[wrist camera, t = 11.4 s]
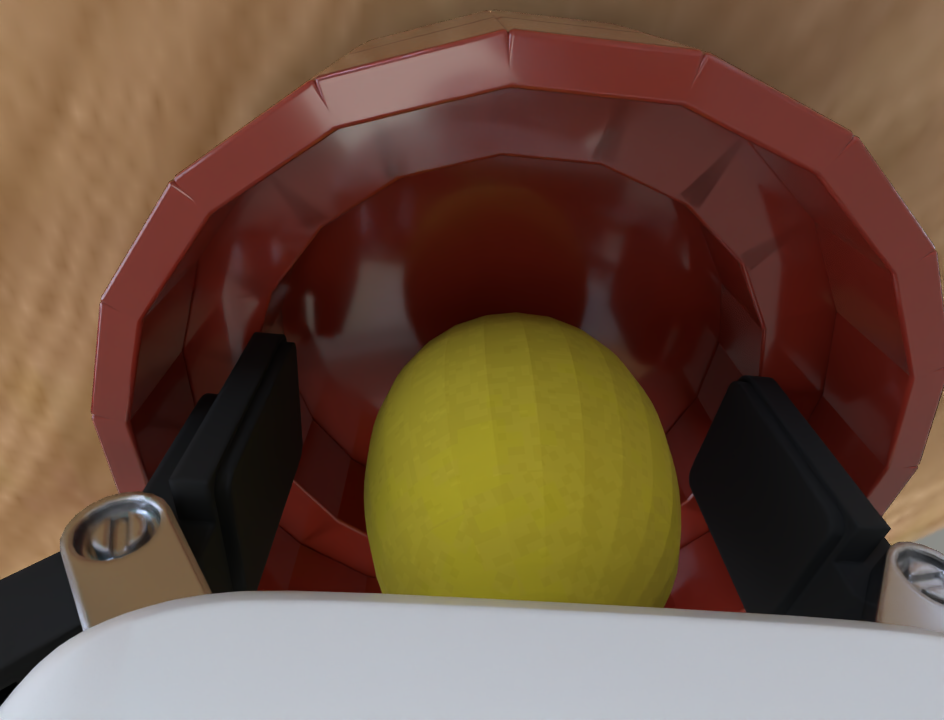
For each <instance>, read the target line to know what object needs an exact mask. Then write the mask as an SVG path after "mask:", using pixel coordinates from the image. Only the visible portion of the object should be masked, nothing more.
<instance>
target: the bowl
mask: <svg viewBox="0 0 944 720" xmlns="http://www.w3.org/2000/svg"><path fill="white" fill-rule="evenodd" d="M515 312H516V313H524V314H532V315H540V316H548V317H551V318H554V319H556V320H559V321H562V322H564V323H567V324H569V325H572V326H575V327H577V328H579V329H581V330H583V331H584V332H586V333H587V334H589V335H590V336H591V337H593V338H594V339H596V340H597V341H598V342H600V343H601V344H603V345H604V346H605V347H607V348H608V349H609V350H611V351H612V352H613V353H614V354H615V355H616V356H617V357H618V358H619V359H620V360H621V361H622V363H623V364H624V365H625V366H626V368H627V369H628V370H629V371H630V373H631V374H632V375H633V377H634V378H635V379H636V380H637V382H638V383H639V384H640V386H641V387H642V388H643V389H644V391H645V393H646V394H647V396H648V397H649V399H650V400H651V402H652V404H653V406H654V408H655V410H656V412H657V414H658V416H659V419H660V422H661V425H662V427H663V430H664V433H665V436H666V440H667V443H668V446H669V449H670V452H671V455H672V459H673V463H674V466H675V470H676V475H677V481H678V486H679V494H680V504H681V538H680V552H679V561H678V570H677V575H676V578H675V581H674V584H673V588H672V591H671V593H670V595H669V598H668V600H667V602H666V604H665V606H664V608H673V609H689V610H706V611H723V612H740V613H746V611H745V608H744V606H743V604H742V602H741V599H740V597H739V595H738V593H737V591H736V588H735V586H734V584H733V582H732V579H731V577H730V575H729V573H728V571H727V568H726V566H725V564H724V562H723V559H722V557H721V555H720V553H719V550H718V548H717V546H716V544H715V542H714V539H713V537H712V535H711V533H710V530H709V528H708V526H707V524H706V522H705V519H704V517H703V515H702V513H701V510H700V508H699V506H698V504H697V502H696V499H695V497H694V495H693V493H692V490H691V488H690V485H689V472H690V469H691V467H692V465H693V463H694V460H695V458H696V456H697V454H698V452H699V450H700V447H701V445H702V443H703V441H704V439H705V437H706V435H707V432H708V430H709V428H710V426H711V424H712V422H713V419H714V417H715V415H716V413H717V411H718V409H719V406H720V404H721V402H722V400H723V398H724V396H725V394H726V391H727V389H728V387H729V385H730V384H731V383H732V382H734V381H738V379H739V378H740V377H741V376H744V375H749V376H760V377H770V378H773V379H774V380H775V381H776V382H777V383H778V384H779V386H780V387H781V388H782V390H783V391H784V392H785V393H786V395H787V396H788V397H789V399H790V400H791V401H792V402H793V404H794V405H795V406H796V408H797V409H798V410H799V411H800V413H801V414H802V415H803V417H804V418H805V419H806V420H807V422H808V423H809V424H810V426H811V427H812V428H813V429H814V431H815V432H816V433H817V435H818V436H819V437H820V438H821V440H822V441H823V442H824V444H825V445H826V446H827V447H828V449H829V450H830V451H831V452H832V454H833V455H834V456H835V458H836V459H837V460H838V461H839V463H840V464H841V465H842V467H843V468H844V469H845V470H846V472H847V473H848V474H849V476H850V477H851V478H852V479H853V481H854V482H855V483H856V485H857V486H858V487H859V488H860V490H861V491H862V492H863V494H864V495H865V496H866V497H867V499H868V500H869V501H870V503H871V504H872V505H873V506H874V508H875V509H876V510H877V512H878V513H879V514H880V515H881V517H882V516H883V514H884V513H885V512H886V510H887V509H888V508H889V506H890V505H891V504H892V502H893V501H894V500H895V498H896V497H897V496H898V494H899V493H900V492H901V490H902V489H903V488H904V486H905V485H906V484H907V482H908V481H909V480H910V478H911V477H912V476H913V474H914V473H915V472H916V470H917V469H918V466H917V465H919V464H920V461H921V458H922V455H923V452H924V449H925V445H926V442H927V439H928V436H929V433H930V430H931V426H932V423H933V420H934V417H935V414H936V411H937V407H938V404H939V401H940V398H941V395H942V392H943V388H944V303H943V295H942V287H941V279H940V272H939V264H938V256H937V252H936V250H935V246H934V244H933V243H932V241H931V240H930V239H929V237H928V236H927V234H926V233H925V231H924V230H923V229H922V227H921V226H920V224H919V223H918V221H917V220H916V218H915V217H914V216H913V214H912V213H911V211H910V210H909V208H908V207H907V206H906V204H905V203H904V201H903V200H902V198H901V197H900V196H899V194H898V193H897V191H896V190H895V188H894V187H893V185H892V184H891V183H890V181H889V180H888V178H887V177H886V175H885V174H884V173H883V171H882V170H881V168H880V167H879V165H878V164H877V163H876V161H875V160H874V158H873V157H872V155H871V154H870V153H869V151H868V150H867V148H866V147H865V145H864V144H863V142H862V141H861V140H860V138H859V137H857V136H855V135H853V133H852V131H851V130H849V129H847V128H845V127H843V126H842V125H840V124H838V123H836V122H834V121H833V120H831V119H829V118H827V117H825V116H824V115H822V114H820V113H818V112H816V111H815V110H813V109H811V108H809V107H807V106H806V105H804V104H802V103H800V102H798V101H797V100H795V99H793V98H791V97H789V96H788V95H786V94H784V93H782V92H780V91H779V90H777V89H775V88H773V87H771V86H770V85H768V84H766V83H764V82H762V81H761V80H759V79H757V78H755V77H753V76H752V75H750V74H748V73H746V72H744V71H743V70H741V69H739V68H737V67H735V66H734V65H732V64H730V63H728V62H726V61H725V60H723V59H721V58H719V57H717V56H716V55H714V54H712V53H710V52H706V51H703V50H700V49H697V48H694V47H690V46H687V45H684V44H680V43H677V42H673V41H670V40H667V39H663V38H660V37H657V36H654V35H650V34H647V33H644V32H640V31H637V30H634V29H630V28H627V27H623V26H620V25H617V24H612V23H604V22H595V21H586V20H578V19H569V18H560V17H552V16H543V15H535V14H526V13H517V12H509V11H500V10H492V11H491V12H490V11H488V10H485V11H482V12H478V13H474V14H470V15H466V16H462V17H458V18H454V19H450V20H447V21H443V22H439V23H435V24H431V25H427V26H423V27H419V28H415V29H412V30H408V31H404V32H400V33H396V34H392V35H388V36H384V37H381V38H377V39H373V40H369V41H367V42H366V43H364V44H361V45H359V46H358V47H356V48H355V49H353V50H352V51H351V52H349V53H348V54H346V55H345V56H343V57H342V58H340V59H339V60H337V61H336V62H334V63H333V64H331V65H330V66H328V67H327V68H325V69H324V70H323V71H321V72H320V73H318V74H317V75H315V76H314V77H312V78H311V79H309V80H308V81H306V82H305V83H304V84H302V85H301V86H300V87H298V88H297V89H295V90H294V91H293V92H291V93H290V94H288V95H287V96H286V97H284V98H283V99H281V100H280V101H279V102H277V103H276V104H274V105H273V106H272V107H270V108H269V109H267V110H266V111H265V112H263V113H262V114H260V115H259V116H258V117H256V118H255V119H253V120H252V121H251V122H249V123H248V124H246V125H245V126H244V127H242V128H241V129H239V130H238V131H237V132H235V133H234V134H232V135H231V136H230V137H228V138H227V139H225V140H224V141H223V142H221V143H220V144H218V145H217V146H216V147H214V148H213V149H211V150H210V151H209V152H207V153H206V154H204V155H203V156H202V157H200V158H199V159H197V160H196V161H195V162H193V163H192V164H190V165H189V166H188V167H186V168H185V169H183V170H182V171H181V172H179V173H178V174H176V175H175V177H174V179H172V180H171V181H170V182H169V183H168V184H167V186H166V188H165V190H164V191H163V193H162V195H161V196H160V198H159V200H158V201H157V203H156V205H155V206H154V208H153V210H152V212H151V213H150V215H149V217H148V218H147V220H146V222H145V223H144V225H143V227H142V228H141V230H140V232H139V234H138V235H137V237H136V239H135V240H134V242H133V244H132V245H131V247H130V249H129V250H128V252H127V254H126V256H125V257H124V259H123V261H122V262H121V264H120V266H119V267H118V269H117V271H116V272H115V274H114V276H113V278H112V279H111V281H110V283H109V284H108V286H107V288H106V289H105V291H104V293H103V294H102V296H101V302H100V307H99V319H98V331H97V343H96V355H95V367H94V379H93V391H92V403H91V414H92V421H93V424H94V426H95V429H96V432H97V435H98V437H99V440H100V443H101V446H102V449H103V451H104V454H105V457H106V460H107V463H108V465H109V468H110V471H111V474H112V476H113V479H114V482H115V485H116V488H117V490H118V493H123V492H136V491H140V492H142V491H143V490H144V488H145V487H146V485H147V483H148V482H149V480H150V479H151V477H152V475H153V474H154V472H155V470H156V469H157V467H158V466H159V464H160V462H161V461H162V459H163V457H164V456H165V454H166V453H167V451H168V449H169V448H170V446H171V444H172V443H173V441H174V440H175V438H176V436H177V435H178V433H179V432H180V430H181V428H182V427H183V425H184V423H185V422H186V420H187V419H188V417H189V415H190V414H191V412H192V410H193V409H194V407H195V406H196V404H197V402H198V401H199V399H200V398H201V397H202V396H203V395H204V394H206V393H213V394H219V392H220V390H221V389H222V387H223V385H224V383H225V382H226V380H227V378H228V377H229V375H230V373H231V371H232V370H233V368H234V366H235V364H236V363H237V361H238V359H239V358H240V356H241V354H242V352H243V351H244V349H245V347H246V345H247V344H248V342H249V340H250V339H251V337H252V335H253V334H254V333H255V332H263V333H274V334H284V335H285V336H286V339H287V342H294V343H295V345H296V352H297V367H298V381H299V396H300V411H301V425H302V440H303V446H302V454H301V459H300V462H299V465H298V468H297V471H296V474H295V477H294V480H293V483H292V486H291V489H290V492H289V495H288V498H287V501H286V504H285V507H284V510H283V513H282V516H281V519H280V522H279V525H278V528H277V531H276V534H275V538H274V541H273V544H272V547H271V550H270V553H269V556H268V559H267V562H266V565H265V568H264V571H263V574H262V577H261V580H260V583H259V586H258V589H257V591H318V592H350V593H380V594H382V591H381V588H380V585H379V583H378V580H377V577H376V572H375V568H374V563H373V558H372V554H371V549H370V544H369V540H368V535H367V528H366V521H365V510H364V480H365V471H366V464H367V457H368V451H369V445H370V439H371V434H372V430H373V426H374V423H375V420H376V417H377V414H378V412H379V410H380V408H381V406H382V404H383V402H384V400H385V398H386V396H387V394H388V392H389V391H390V389H391V387H392V385H393V383H394V381H395V379H396V377H397V376H398V374H399V373H400V371H401V370H402V369H403V367H404V366H405V365H406V364H407V363H408V362H409V361H410V360H411V359H412V358H413V357H414V356H415V355H416V354H417V353H418V352H419V351H420V350H421V349H422V348H423V347H424V346H425V345H426V344H427V343H428V342H429V341H431V340H432V339H434V338H435V337H437V336H439V335H440V334H442V333H444V332H445V331H447V330H449V329H450V328H452V327H453V326H455V325H458V324H461V323H464V322H467V321H470V320H473V319H476V318H479V317H482V316H486V315H493V314H504V313H515Z"/></svg>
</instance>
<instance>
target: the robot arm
mask: <svg viewBox="0 0 944 720" xmlns="http://www.w3.org/2000/svg"><path fill="white" fill-rule="evenodd" d="M302 446H303V440H302V425H301V411H300V396H299V381H298V367H297V352H296V345H295V343H294V342H287V339H286V336H285V335H284V334H274V333H263V332H255V333H254V334H253V335H252V337H251V339H250V340H249V342H248V344H247V345H246V347H245V349H244V351H243V352H242V354H241V356H240V358H239V359H238V361H237V363H236V364H235V366H234V368H233V370H232V371H231V373H230V375H229V377H228V378H227V380H226V382H225V383H224V385H223V387H222V389H221V390H220V392H219V394H213V393H206V394H204V395H203V396H202V397H201V398H200V399H199V401H198V402H197V404H196V406H195V407H194V409H193V410H192V412H191V414H190V415H189V417H188V419H187V420H186V422H185V423H184V425H183V427H182V428H181V430H180V432H179V433H178V435H177V436H176V438H175V440H174V441H173V443H172V444H171V446H170V448H169V449H168V451H167V453H166V454H165V456H164V457H163V459H162V461H161V462H160V464H159V466H158V467H157V469H156V470H155V472H154V474H153V475H152V477H151V479H150V480H149V482H148V483H147V485H146V487H145V488H144V490H143V491H142V492H140V491H136V492H123V493H119V494H115V495H112V496H108V497H105V498H103V499H101V500H99V501H97V502H95V503H92V504H90V505H89V506H87V507H86V508H85V509H83V510H82V511H81V512H79V513H78V514H77V515H75V517H74V518H73V519H72V520H71V521H70V522H69V524H68V525H67V526H66V527H65V529H64V532H63V534H62V536H61V538H60V552H58V553H56V554H54V555H52V556H50V557H47V558H45V559H43V560H41V561H39V562H37V563H35V564H33V565H31V566H29V567H27V568H24V569H22V570H20V571H18V572H16V573H14V574H12V575H10V576H8V577H6V578H4V579H1V580H0V720H944V554H942V553H940V552H939V551H937V550H934V549H932V548H929V547H927V546H924V545H921V544H917V543H912V542H898V543H896V544H894V545H890V544H889V543H888V541H887V540H886V539H885V536H886V534H887V533H888V532H889V531H890V529H891V528H890V527H889V526H888V524H887V523H886V522H885V521H884V519H883V518H882V517H881V515H880V514H879V513H878V512H877V510H876V509H875V508H874V506H873V505H872V504H871V503H870V501H869V500H868V499H867V497H866V496H865V495H864V494H863V492H862V491H861V490H860V488H859V487H858V486H857V485H856V483H855V482H854V481H853V479H852V478H851V477H850V476H849V474H848V473H847V472H846V470H845V469H844V468H843V467H842V465H841V464H840V463H839V461H838V460H837V459H836V458H835V456H834V455H833V454H832V452H831V451H830V450H829V449H828V447H827V446H826V445H825V444H824V442H823V441H822V440H821V438H820V437H819V436H818V435H817V433H816V432H815V431H814V429H813V428H812V427H811V426H810V424H809V423H808V422H807V420H806V419H805V418H804V417H803V415H802V414H801V413H800V411H799V410H798V409H797V408H796V406H795V405H794V404H793V402H792V401H791V400H790V399H789V397H788V396H787V395H786V393H785V392H784V391H783V390H782V388H781V387H780V386H779V384H778V383H777V382H776V381H775V380H774V379H773V378H770V377H760V376H749V375H744V376H741V377H740V378H739V379H738V381H734V382H732V383H731V384H730V385H729V387H728V389H727V391H726V394H725V396H724V398H723V400H722V402H721V404H720V406H719V409H718V411H717V413H716V415H715V417H714V419H713V422H712V424H711V426H710V428H709V430H708V432H707V435H706V437H705V439H704V441H703V443H702V445H701V447H700V450H699V452H698V454H697V456H696V458H695V460H694V463H693V465H692V467H691V469H690V472H689V485H690V488H691V490H692V493H693V495H694V497H695V499H696V502H697V504H698V506H699V508H700V510H701V513H702V515H703V517H704V519H705V522H706V524H707V526H708V528H709V530H710V533H711V535H712V537H713V539H714V542H715V544H716V546H717V548H718V550H719V553H720V555H721V557H722V559H723V562H724V564H725V566H726V568H727V571H728V573H729V575H730V577H731V579H732V582H733V584H734V586H735V588H736V591H737V593H738V595H739V597H740V599H741V602H742V604H743V606H744V608H745V611H746V613H740V612H723V611H706V610H689V609H673V608H655V607H636V606H618V605H600V604H581V603H562V602H543V601H524V600H505V599H484V598H463V597H442V596H421V595H401V594H380V593H350V592H318V591H257V589H258V586H259V583H260V580H261V577H262V574H263V571H264V568H265V565H266V562H267V559H268V556H269V553H270V550H271V547H272V544H273V541H274V538H275V534H276V531H277V528H278V525H279V522H280V519H281V516H282V513H283V510H284V507H285V504H286V501H287V498H288V495H289V492H290V489H291V486H292V483H293V480H294V477H295V474H296V471H297V468H298V465H299V462H300V459H301V454H302Z"/></svg>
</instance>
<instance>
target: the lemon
mask: <svg viewBox="0 0 944 720" xmlns="http://www.w3.org/2000/svg"><path fill="white" fill-rule="evenodd" d="M364 510H365V521H366V528H367V535H368V540H369V544H370V549H371V554H372V558H373V563H374V568H375V572H376V577H377V580H378V583H379V585H380V588H381V591H382V594H401V595H421V596H442V597H463V598H484V599H505V600H524V601H543V602H562V603H581V604H600V605H618V606H636V607H655V608H664V606H665V604H666V602H667V600H668V598H669V595H670V593H671V591H672V588H673V584H674V581H675V578H676V575H677V570H678V561H679V552H680V538H681V504H680V494H679V486H678V481H677V475H676V470H675V466H674V463H673V459H672V455H671V452H670V449H669V446H668V443H667V440H666V436H665V433H664V430H663V427H662V425H661V422H660V419H659V416H658V414H657V412H656V410H655V408H654V406H653V404H652V402H651V400H650V399H649V397H648V396H647V394H646V393H645V391H644V389H643V388H642V387H641V386H640V384H639V383H638V382H637V380H636V379H635V378H634V377H633V375H632V374H631V373H630V371H629V370H628V369H627V368H626V366H625V365H624V364H623V363H622V361H621V360H620V359H619V358H618V357H617V356H616V355H615V354H614V353H613V352H612V351H611V350H609V349H608V348H607V347H605V346H604V345H603V344H601V343H600V342H598V341H597V340H596V339H594V338H593V337H591V336H590V335H589V334H587V333H586V332H584V331H583V330H581V329H579V328H577V327H575V326H572V325H569V324H567V323H564V322H562V321H559V320H556V319H554V318H551V317H548V316H540V315H532V314H524V313H516V312H515V313H504V314H493V315H486V316H482V317H479V318H476V319H473V320H470V321H467V322H464V323H461V324H458V325H455V326H453V327H452V328H450V329H449V330H447V331H445V332H444V333H442V334H440V335H439V336H437V337H435V338H434V339H432V340H431V341H429V342H428V343H427V344H426V345H425V346H424V347H423V348H422V349H421V350H420V351H419V352H418V353H417V354H416V355H415V356H414V357H413V358H412V359H411V360H410V361H409V362H408V363H407V364H406V365H405V366H404V367H403V369H402V370H401V371H400V373H399V374H398V376H397V377H396V379H395V381H394V383H393V385H392V387H391V389H390V391H389V392H388V394H387V396H386V398H385V400H384V402H383V404H382V406H381V408H380V410H379V412H378V414H377V417H376V420H375V423H374V426H373V430H372V434H371V439H370V445H369V451H368V457H367V464H366V471H365V480H364Z"/></svg>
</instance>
